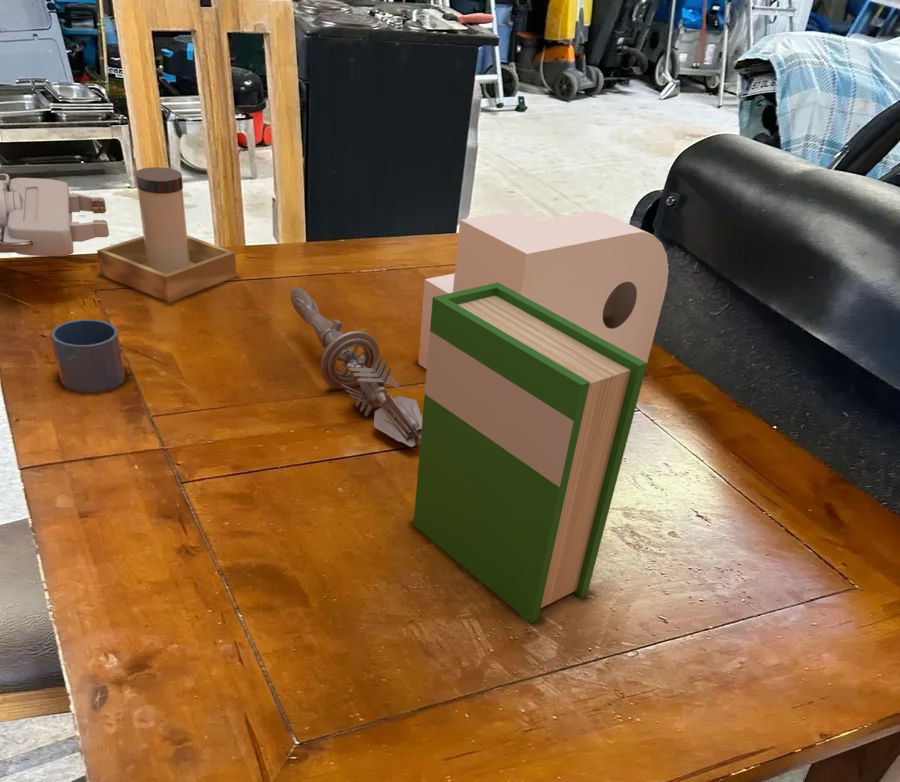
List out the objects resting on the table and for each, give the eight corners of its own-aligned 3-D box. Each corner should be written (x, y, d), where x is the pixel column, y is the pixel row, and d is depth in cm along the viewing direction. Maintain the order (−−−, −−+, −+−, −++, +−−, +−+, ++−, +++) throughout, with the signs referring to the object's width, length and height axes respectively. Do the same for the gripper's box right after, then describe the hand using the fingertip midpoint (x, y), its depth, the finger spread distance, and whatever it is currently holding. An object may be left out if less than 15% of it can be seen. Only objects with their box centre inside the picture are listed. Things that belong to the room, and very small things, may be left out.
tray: (101, 278, 129) (96, 250, 126) (170, 254, 138) (168, 228, 135) (169, 306, 124) (166, 277, 121) (236, 279, 133) (235, 252, 130)
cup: (48, 380, 105) (37, 332, 101) (96, 360, 110) (88, 313, 106) (90, 400, 103) (80, 352, 99) (137, 379, 108) (131, 332, 104)
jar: (138, 274, 130) (124, 172, 120) (170, 263, 134) (159, 164, 125) (169, 287, 127) (157, 184, 118) (200, 275, 131) (191, 175, 122)
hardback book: (586, 596, 84) (647, 363, 69) (530, 624, 81) (581, 385, 65) (468, 504, 94) (497, 282, 78) (413, 526, 90) (432, 297, 75)
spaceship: (327, 270, 118) (276, 255, 113) (461, 417, 99) (407, 406, 94) (305, 323, 122) (254, 310, 117) (429, 474, 103) (376, 467, 98)
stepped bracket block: (558, 328, 131) (585, 181, 118) (643, 376, 122) (683, 223, 108) (418, 364, 118) (430, 204, 104) (501, 422, 108) (526, 253, 95)
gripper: (-13, 219, 109) (106, 218, 113) (-5, 169, 123) (100, 170, 128) (-1, 270, 113) (113, 267, 117) (5, 216, 128) (107, 215, 132)
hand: (106, 216), depth 123 cm, fingers open, 8 cm apart
